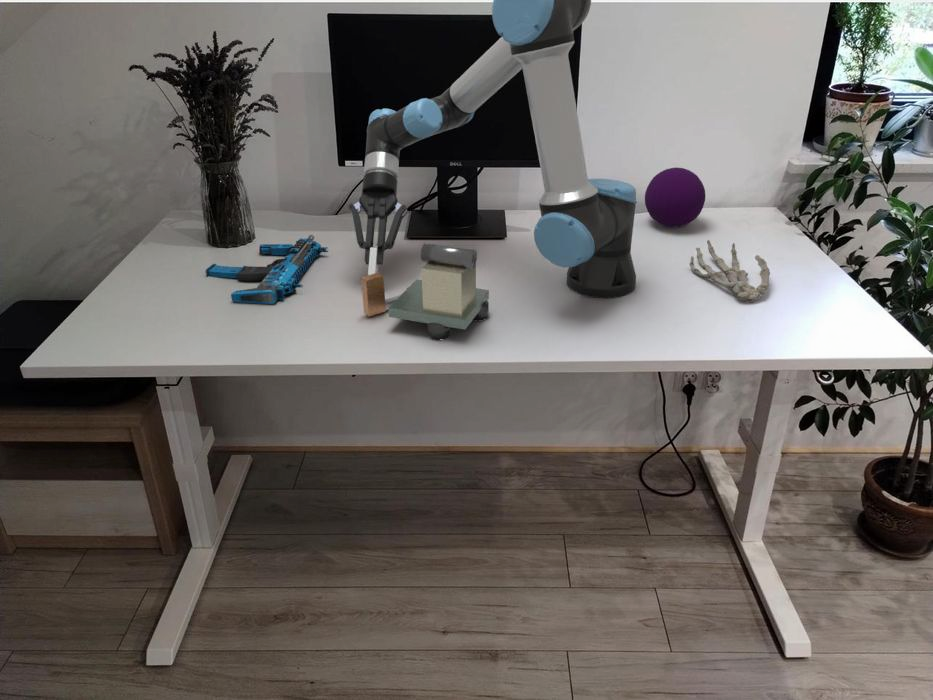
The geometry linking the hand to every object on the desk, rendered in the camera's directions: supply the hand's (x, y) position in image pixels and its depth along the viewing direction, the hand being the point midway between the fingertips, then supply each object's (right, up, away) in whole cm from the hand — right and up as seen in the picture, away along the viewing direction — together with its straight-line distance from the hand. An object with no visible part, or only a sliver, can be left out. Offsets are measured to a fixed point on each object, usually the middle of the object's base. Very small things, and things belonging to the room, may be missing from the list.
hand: (372, 278), depth 168 cm
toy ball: (+73, +17, +37) cm, 84 cm away
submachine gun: (-26, +3, +15) cm, 30 cm away
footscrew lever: (+6, -6, -3) cm, 9 cm away
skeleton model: (+79, 0, +8) cm, 79 cm away
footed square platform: (+15, -9, -8) cm, 19 cm away
